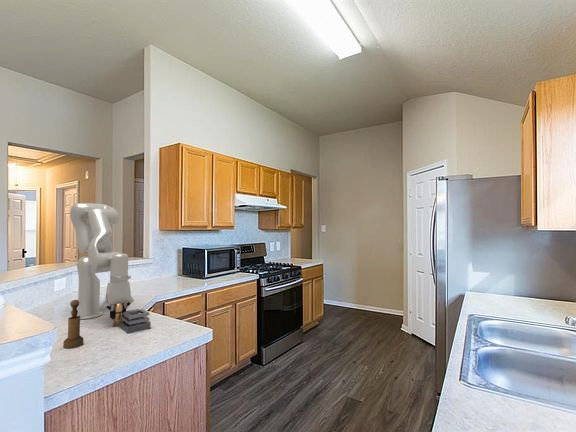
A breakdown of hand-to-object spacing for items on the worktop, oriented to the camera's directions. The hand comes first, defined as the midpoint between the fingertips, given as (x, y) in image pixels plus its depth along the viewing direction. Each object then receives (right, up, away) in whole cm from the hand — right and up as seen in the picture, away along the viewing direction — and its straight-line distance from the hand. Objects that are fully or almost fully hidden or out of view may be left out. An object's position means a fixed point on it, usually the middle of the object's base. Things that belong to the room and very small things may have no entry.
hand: (117, 317), depth 148 cm
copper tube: (0, -4, 0) cm, 4 cm away
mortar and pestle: (-4, -3, -25) cm, 25 cm away
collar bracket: (+10, -4, -4) cm, 11 cm away
